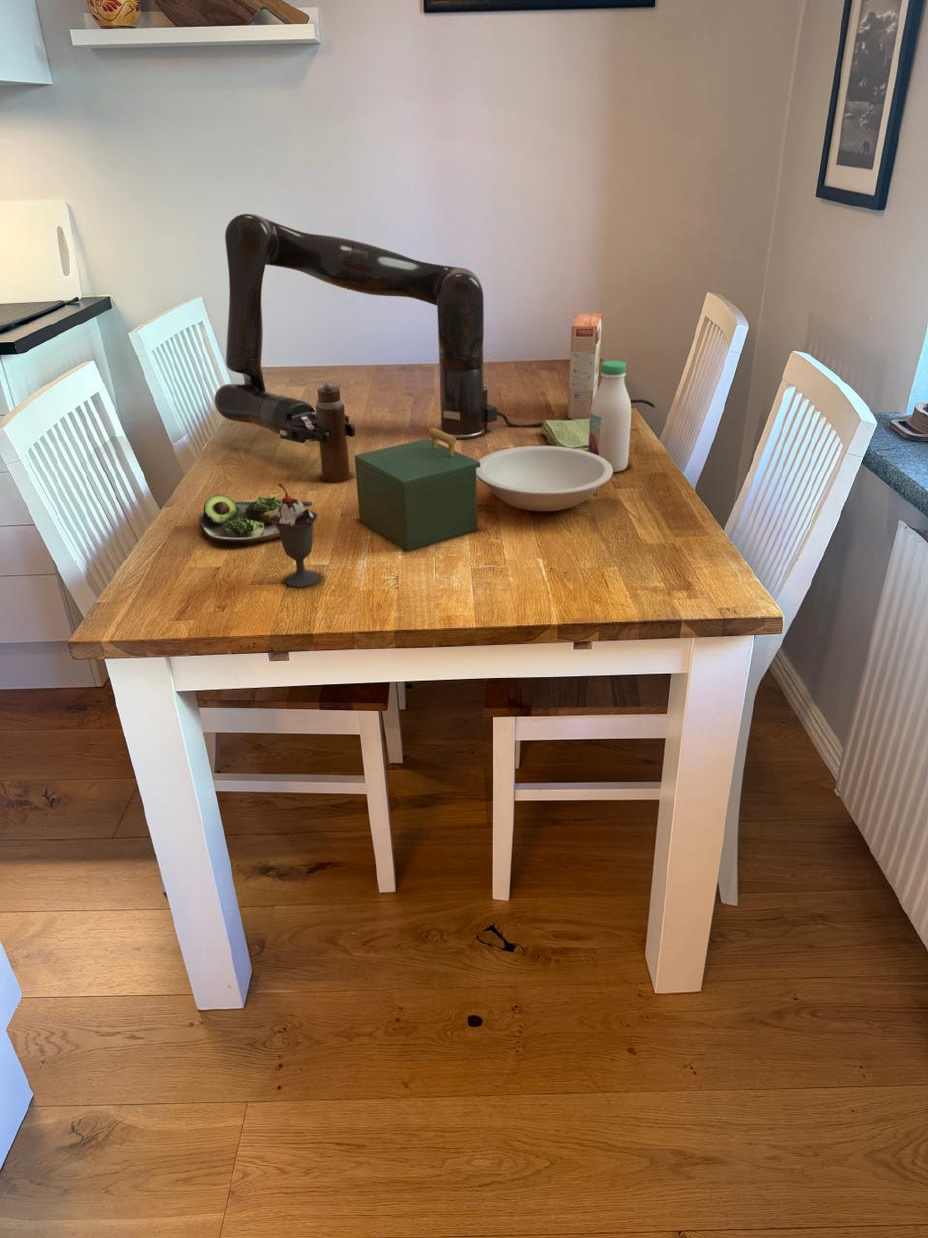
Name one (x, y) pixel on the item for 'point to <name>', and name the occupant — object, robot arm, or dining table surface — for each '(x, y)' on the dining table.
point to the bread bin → (417, 507)
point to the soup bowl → (543, 476)
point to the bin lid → (418, 460)
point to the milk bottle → (611, 417)
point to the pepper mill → (333, 434)
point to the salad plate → (240, 520)
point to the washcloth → (567, 433)
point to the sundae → (296, 537)
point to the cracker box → (584, 364)
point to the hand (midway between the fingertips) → (340, 434)
